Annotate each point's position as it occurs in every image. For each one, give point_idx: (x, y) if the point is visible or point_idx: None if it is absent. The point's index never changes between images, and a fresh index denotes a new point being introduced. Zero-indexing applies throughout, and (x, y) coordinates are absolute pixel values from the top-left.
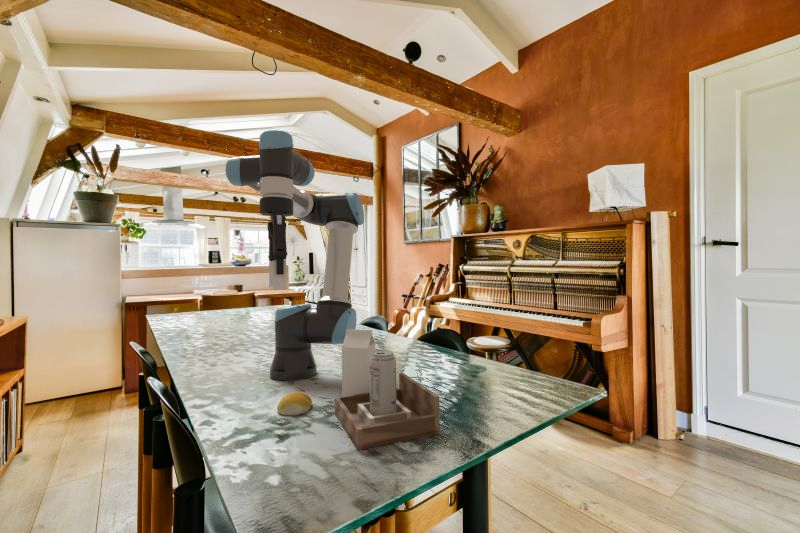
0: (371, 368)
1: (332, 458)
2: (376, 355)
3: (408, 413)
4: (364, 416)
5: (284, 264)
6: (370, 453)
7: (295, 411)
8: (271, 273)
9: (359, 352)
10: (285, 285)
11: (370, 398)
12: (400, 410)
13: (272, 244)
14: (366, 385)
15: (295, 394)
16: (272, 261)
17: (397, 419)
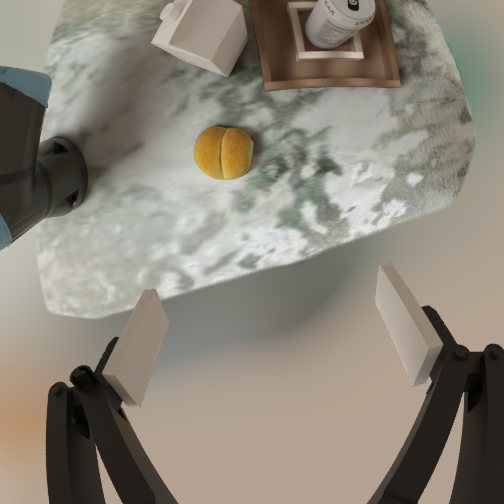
0: (355, 30)
1: (398, 118)
2: (368, 16)
3: None
4: (336, 58)
5: (431, 334)
6: None
7: (252, 151)
8: (151, 358)
9: (233, 26)
10: (397, 273)
11: (334, 43)
12: None
13: (163, 486)
14: (245, 33)
15: (215, 154)
16: (134, 399)
17: None
